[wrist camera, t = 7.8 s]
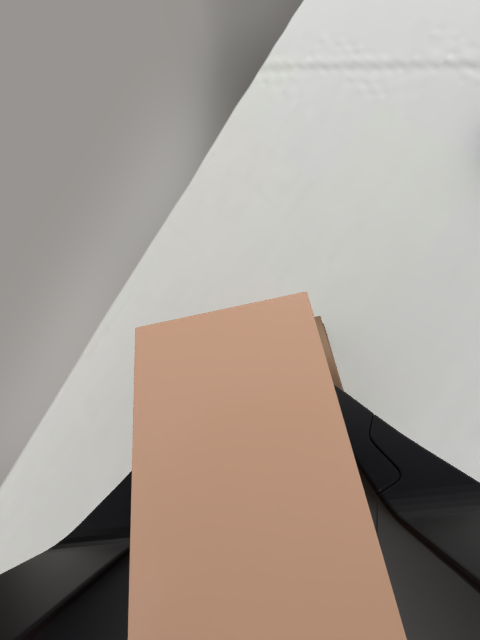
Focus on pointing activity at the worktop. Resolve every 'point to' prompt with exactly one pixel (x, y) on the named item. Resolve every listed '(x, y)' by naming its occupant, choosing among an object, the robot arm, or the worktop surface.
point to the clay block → (248, 487)
